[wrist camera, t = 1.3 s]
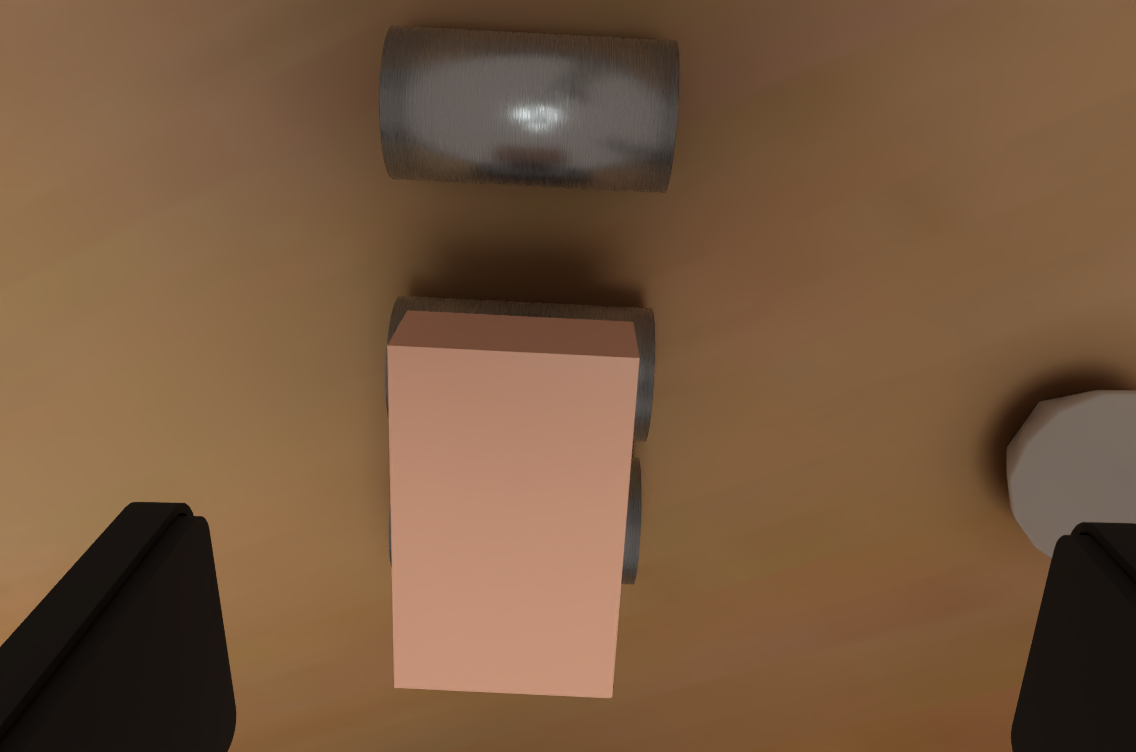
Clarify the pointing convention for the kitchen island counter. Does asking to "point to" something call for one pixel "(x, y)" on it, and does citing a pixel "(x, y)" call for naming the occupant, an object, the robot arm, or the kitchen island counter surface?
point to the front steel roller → (639, 316)
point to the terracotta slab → (509, 500)
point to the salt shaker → (1074, 465)
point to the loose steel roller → (529, 108)
